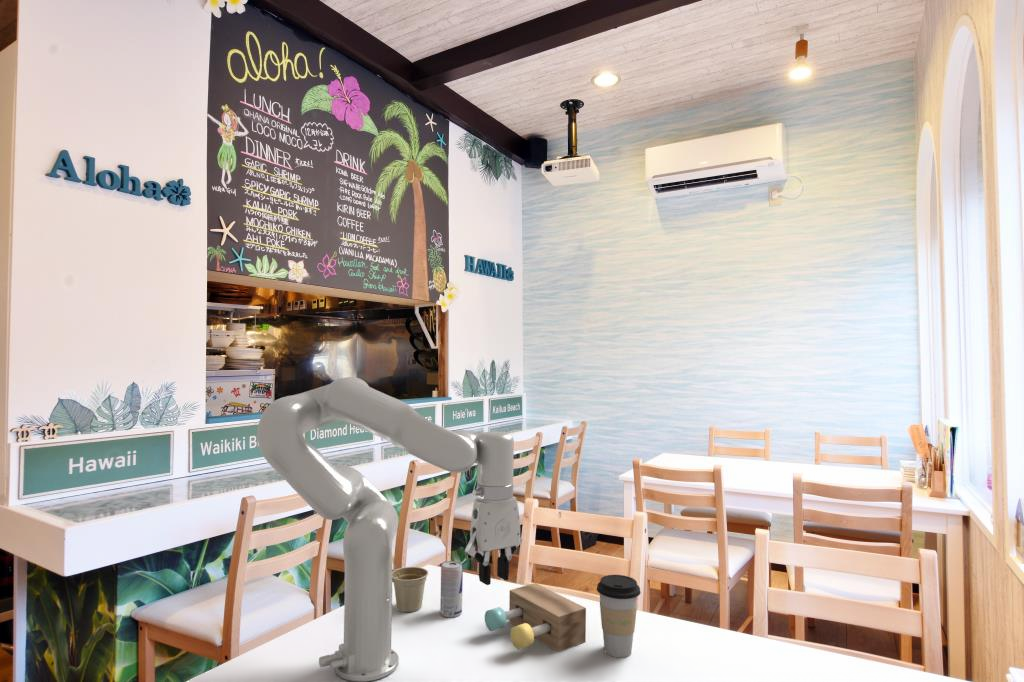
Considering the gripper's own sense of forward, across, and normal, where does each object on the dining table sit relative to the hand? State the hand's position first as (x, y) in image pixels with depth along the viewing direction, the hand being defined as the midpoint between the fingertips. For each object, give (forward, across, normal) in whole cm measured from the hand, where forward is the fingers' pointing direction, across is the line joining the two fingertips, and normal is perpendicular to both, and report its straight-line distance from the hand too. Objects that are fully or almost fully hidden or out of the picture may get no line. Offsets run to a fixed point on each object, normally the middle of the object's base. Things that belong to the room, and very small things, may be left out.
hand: (493, 579), depth 124 cm
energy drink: (+17, +6, +26) cm, 32 cm away
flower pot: (+17, -2, +35) cm, 39 cm away
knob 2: (+16, +12, 0) cm, 20 cm away
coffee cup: (+17, +26, -11) cm, 33 cm away
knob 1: (+16, +12, +10) cm, 22 cm away
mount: (+17, +18, +5) cm, 26 cm away
